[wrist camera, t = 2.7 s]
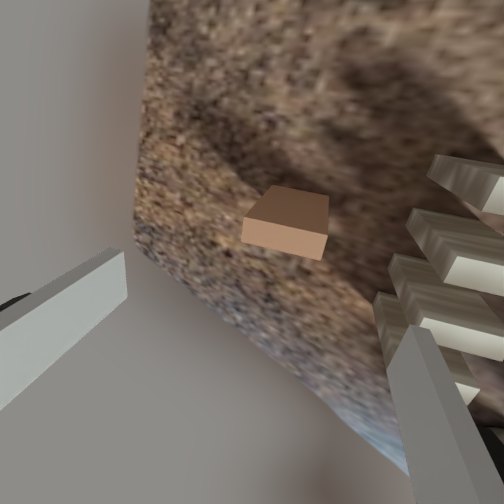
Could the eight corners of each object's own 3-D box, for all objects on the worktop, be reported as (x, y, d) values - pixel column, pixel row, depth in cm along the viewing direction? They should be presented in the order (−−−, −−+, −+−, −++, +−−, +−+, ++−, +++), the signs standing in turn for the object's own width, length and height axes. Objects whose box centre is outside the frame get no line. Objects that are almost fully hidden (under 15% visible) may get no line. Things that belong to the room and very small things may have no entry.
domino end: (272, 184, 30) (244, 216, 20) (329, 195, 29) (328, 235, 19) (269, 202, 31) (240, 241, 21) (324, 214, 30) (320, 260, 20)
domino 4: (377, 291, 32) (397, 365, 22) (434, 304, 31) (480, 389, 21) (372, 304, 33) (388, 382, 23) (426, 318, 32) (467, 405, 22)
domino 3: (394, 252, 30) (424, 317, 20) (455, 266, 29) (517, 341, 19) (387, 268, 31) (413, 338, 21) (446, 282, 30) (501, 361, 20)
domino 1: (435, 153, 25) (500, 176, 15) (509, 166, 24) (628, 198, 14) (425, 176, 26) (481, 211, 16) (497, 189, 25) (601, 233, 15)
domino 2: (412, 207, 27) (457, 256, 18) (480, 220, 26) (565, 279, 17) (405, 226, 28) (443, 282, 19) (469, 239, 27) (545, 306, 18)
